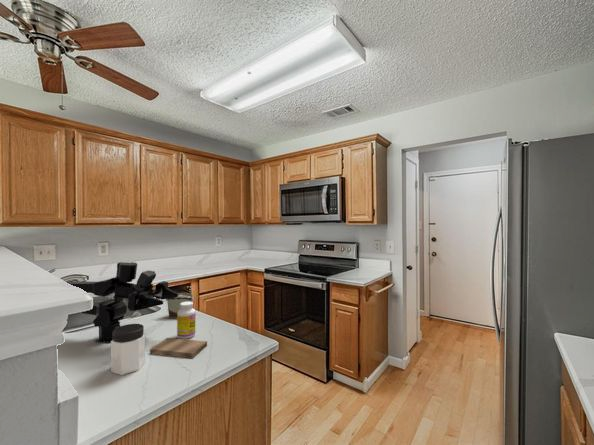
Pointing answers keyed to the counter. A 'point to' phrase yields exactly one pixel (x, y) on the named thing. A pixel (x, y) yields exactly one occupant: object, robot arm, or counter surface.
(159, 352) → the walnut board
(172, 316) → the food container
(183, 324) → the supplement bottle
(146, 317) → the counter surface
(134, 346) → the jar
